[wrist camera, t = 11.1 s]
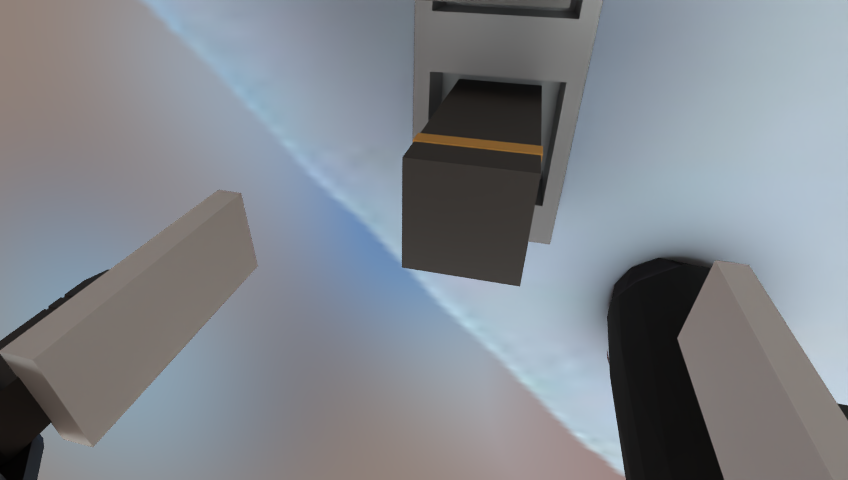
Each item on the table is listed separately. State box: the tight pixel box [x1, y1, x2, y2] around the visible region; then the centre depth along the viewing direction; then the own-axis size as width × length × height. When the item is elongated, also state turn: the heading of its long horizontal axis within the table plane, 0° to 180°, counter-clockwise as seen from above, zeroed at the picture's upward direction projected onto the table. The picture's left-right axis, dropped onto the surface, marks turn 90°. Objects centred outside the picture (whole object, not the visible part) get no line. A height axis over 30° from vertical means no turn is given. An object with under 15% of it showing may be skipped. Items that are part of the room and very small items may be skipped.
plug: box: [402, 79, 543, 286], centre depth 20 cm, size 5×5×12 cm
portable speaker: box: [607, 258, 724, 480], centre depth 22 cm, size 9×9×20 cm
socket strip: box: [413, 0, 603, 244], centre depth 19 cm, size 20×8×12 cm, turn 178°
